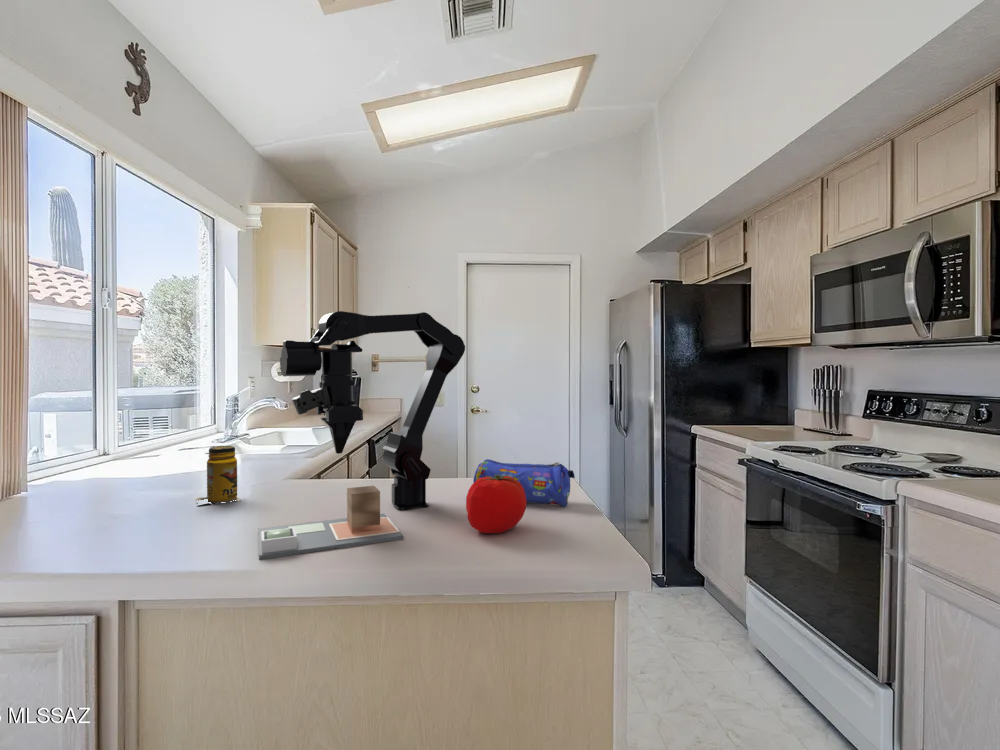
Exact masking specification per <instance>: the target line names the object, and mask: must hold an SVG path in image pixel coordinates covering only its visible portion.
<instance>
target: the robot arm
mask: <svg viewBox="0 0 1000 750" xmlns="http://www.w3.org/2000/svg"><path fill="white" fill-rule="evenodd" d="M317 327H318V329H317V330H316V332H315V333H314V334H313V336H312V337H311V339H310V340H309V341H295V340H286V339H285V340H283V341H282V349H281V353H280V356H281V357H279V366H280V367H279V368H280V372H281V375H282V377H311V376H313V377H314V376H315V375H316V374H317V372H319V371H321V369H322V374H321V375H322V379H321V380H320V381H319V384H318V385H319V386H318V388H316V389H312V390H310V389H306V390H304V391H300V392H299V395H297V396H294V397H292V398H291V401H292V404H293V406H294V409H295V411H296V413H297V414H298V415H300V416H301V415H303V414H306V413H308V411H310V410H314V409H316V410H315V412H316V415H322V414H324V417H320V420H321V421H322V422H323V423H325V424H326V425H327V426H328V428H329V431H330V435H331V439H332V444H333V447H334V451H335V453H336V455H337V454H338V455H339V454H340V455H341V454H342V453H343V452H344V448H345V447H346V444H347V442H348V439H349V437H350V434H351V433H352V430H353V428H354V426H355V424H356V422H357V421H364V410H363V409H362V408H361V407H360V406H359V405H357V404H356V401H355V400H354V393H353V391H354V390H353V387H354V386H355V383H356V382H355V380H353V353H362V352H363V348H362V347H360V346H359V345H358V344H357V342H356V341H355V340H351V339H354V338H360V337H363V336H366V335H369V334H385V333H400V332H414V333H415V334H416V336H418V338H419V340H420V341H421V343H422V344H423V345H424V346H426V348H428V349H427V352H426V353H427V354H426V370H425V373H424V375H423V377H422V380H421V382H420V384H419V387H418V389H417V392H416V393H415V397H414V398H413V401H412V404H411V406H410V408H409V410H408V413H407V416H406V417H405V420H404V423H403V425H402V427H401V428H400V429H399V430H398V432H396V433H395V432H392V431H390V432H389V433H388V436H387V440H386V442H385V445H384V446H383V447H382V448H381V449H382V450H383V453H382V459H383V461H384V464H385V465H386V466H387V467H388V468H390V472H391V474H392V475H393V483H391V504H393V505H394V507H395V508H396V509H397V510H399V511H400V510H401V511H402V510H409V509H418V508H426V507H429V503H428V502H426V501H427V498H426V497H427V495H426V494H427V493H426V491H427V486H426V485H427V483H426V482H427V480H429V477H430V473H431V471H432V470H431V468H430V467H429V466H428V465H427V464H425V463H424V461H422V460H421V457H422V453H423V450H424V446H423V445H424V444H423V443H424V442H423V437H424V436H423V435H424V433H425V430H426V427H427V426H428V422H429V421H430V420H429V419H430V417H431V415H432V413H433V410H434V408H435V406H436V403H437V400H438V398H439V395H440V393H441V390H442V389H443V385H444V384H445V381H446V378H447V377H448V375H449V374H450V373H452V371H453V370H454V369H455V367H457V365H458V364H459V362H460V361H461V359H462V357H463V356H464V354H465V351H466V345H465V343H464V340H463V338H462V337H461V336H460V335H458V334H455V333H454V332H453V331H451V330H450V329H449V328H448V327H446V326H444V325H443V324H442V323H440V322H439V321H437V320H436V319H435V318H434V317H433V316H432V315H430V314H429V313H427V312H425V311H424V312H423V311H422V312H418V313H405V314H381V315H379V314H378V315H367V314H362V313H358V312H357V313H356V312H350V311H344V310H338V311H333V312H330V313H327V314H323V316H322V317H321V318H320V320H319V322H318V326H317ZM348 340H350V341H348ZM340 341H341V342H342V341H348V342H347V343H346V344H345V343H343V344H342V343H335V342H340ZM325 346H326V347H327V346H331V348H330V349H320V347H325Z"/></svg>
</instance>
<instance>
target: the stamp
mask: <svg viewBox="0 0 1000 750" xmlns="http://www.w3.org/2000/svg"><path fill="white" fill-rule="evenodd" d="M380 514H381V491H380V489H379V488H377V487H376V486H375V485H367V486H366V485H365V486H356V487H348V488H346V515H347V516H346V518H347V526H348V528H349V530H350V531H351V533H352V534H353V533H360V532H368V531H376V530H380Z"/></svg>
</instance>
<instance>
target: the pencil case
mask: <svg viewBox="0 0 1000 750" xmlns="http://www.w3.org/2000/svg"><path fill="white" fill-rule="evenodd" d="M484 475H485V476H484ZM496 475H500V476H510V477H512V478H514V479H516V480H517V481H519V482H520V484H521V485H522V487H523V488H524V492H525V496H526V501H527V503H528V504H539V505H548V506H549V505H556V506H560V507H563V508H565V507H567V506H568V501H569V500H568V499H569V496H570V493H571V479H575V478H576V477H575V473H574V471H573V470H571V469H568V468H567V467H566V466H565V465H563V463H560V462H557V461H556V462H554V463H547V464H543V463H536V464H534V463H533V464H531V463H511V462H510V463H508V462H500V461H495V460H493V459H488V458H486V459H484V460H483V462H480V463H479V464H478V465H477V468H476V469H475V472H474V475H473V483H474V482H476V481H477V480H478V479H479V478H482V477H487V476H491V477H496ZM500 476H499V477H500ZM473 483H472V484H473ZM527 503H526V504H527Z"/></svg>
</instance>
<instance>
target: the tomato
mask: <svg viewBox="0 0 1000 750" xmlns="http://www.w3.org/2000/svg"><path fill="white" fill-rule="evenodd" d="M484 476H485V475H484ZM499 476H500V475H496V477H491V476H487V477H482V478H479V479H478V480H477V481H476V482H474V483H472V484H471V486H470V487H469V488H468V492H467V494H466V498H465V509H466V513H467V516H466V517H467V520H468V523H469V525H470V526H471V528H473V529H474V530H476V531H477V532H479V533H484V534H487V535H488V534H501V533H503V532H507V531H509V530H511V529H513V528H515V526H517V524H519V522H520V521H521V520H522V519H523V516H524V515H525V512H526V509H527V501H526V496H525V492H524V488H523V487H522V485H521V484H520V482H519V481H517V480H516V479H514V478H512V477H510V476H500V477H499Z"/></svg>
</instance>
